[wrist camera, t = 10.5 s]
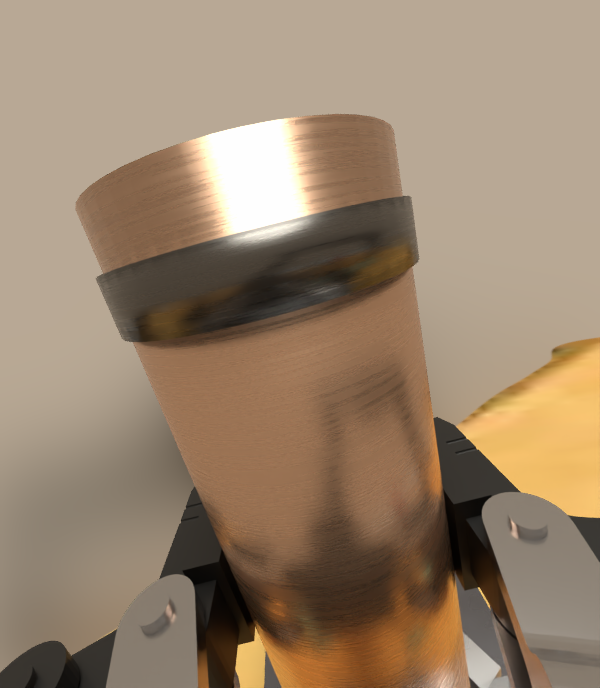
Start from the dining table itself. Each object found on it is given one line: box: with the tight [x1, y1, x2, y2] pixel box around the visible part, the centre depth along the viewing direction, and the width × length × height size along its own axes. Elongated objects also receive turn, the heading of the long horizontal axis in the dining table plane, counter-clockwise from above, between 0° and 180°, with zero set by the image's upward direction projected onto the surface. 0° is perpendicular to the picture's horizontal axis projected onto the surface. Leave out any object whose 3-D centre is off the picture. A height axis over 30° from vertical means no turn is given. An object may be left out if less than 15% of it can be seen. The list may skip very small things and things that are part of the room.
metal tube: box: [76, 114, 470, 688], centre depth 7 cm, size 5×5×16 cm
